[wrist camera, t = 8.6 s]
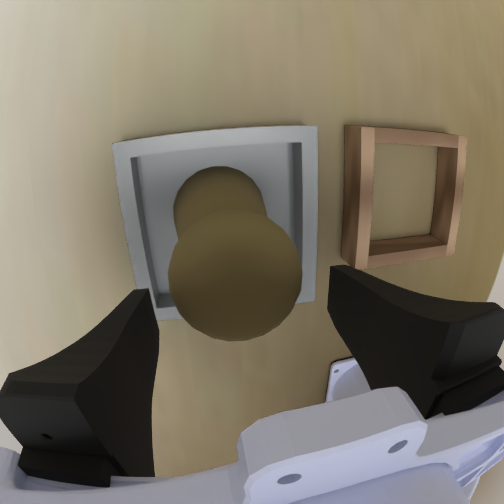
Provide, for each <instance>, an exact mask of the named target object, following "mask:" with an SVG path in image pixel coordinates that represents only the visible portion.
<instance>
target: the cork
mask: <svg viewBox="0 0 504 504" xmlns="http://www.w3.org/2000/svg"><path fill="white" fill-rule="evenodd" d="M173 212H174V223H175V227H176V232H177V236H178V242H177V244H176V245H175V246H174V249H173V253H172V256H171V260H170V264H169V268H168V282H169V292H170V294H171V297H172V299H173V302H174V304H175V306H176V308H177V310H178V312H179V314H180V315H181V316H182V317H183V318H184V319H185V320H186V321H187V322H188V323H189V324H190V325H191V326H192V327H193V328H195V329H196V330H198V331H200V332H202V333H204V334H206V335H208V336H210V337H212V338H215V339H220V340H225V341H244V340H250V339H253V338H256V337H259V336H262V335H264V334H266V333H268V332H269V331H271V330H272V329H274V328H276V327H277V326H279V325H280V323H281V322H282V321H283V320H284V319H285V318H286V317H287V316H288V315H289V314H290V312H291V311H292V309H293V307H294V305H295V303H296V301H297V299H298V296H299V294H300V292H301V284H302V276H303V273H302V267H301V262H300V258H299V254H298V249H297V248H296V246H295V245H294V243H293V242H292V240H291V239H290V237H289V236H288V234H287V233H286V232H285V230H284V229H283V228H282V227H280V226H279V225H278V224H276V223H275V222H274V221H272V220H271V219H269V218H268V216H267V212H266V208H265V205H264V201H263V197H262V194H261V191H260V189H259V188H258V186H257V185H256V183H255V182H254V180H253V179H252V178H250V177H249V176H248V175H246V174H245V173H244V172H242V171H240V170H237V169H234V168H231V167H228V166H212V167H208V168H205V169H202V170H199V171H197V172H196V173H194V174H193V175H192V176H190V177H189V178H188V179H186V180H185V182H184V183H183V185H182V186H181V187H180V189H179V190H178V192H177V195H176V198H175V201H174V205H173Z"/></svg>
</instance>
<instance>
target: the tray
mask: <svg viewBox="0 0 504 504" xmlns="http://www.w3.org/2000/svg"><path fill="white" fill-rule="evenodd" d="M112 149H113V158H114V166H115V173H116V180H117V187H118V194H119V200H120V206H121V212H122V218H123V223H124V229H125V234H126V239H127V244H128V249H129V254H130V259H131V263H132V268H133V272H134V277H135V281H136V285H137V289H145V288H149V291H150V295H151V300H152V304H153V308H154V312H155V316H156V320H157V321H160V320H170V319H180V318H183V317H182V316H181V315H180V314H179V312H178V310H177V308H176V306H175V304H174V302H173V299H172V297H171V294H170V292H169V282H168V268H169V264H170V260H171V256H172V253H173V249H174V246H175V245H176V244H177V242H178V236H177V232H176V227H175V223H174V212H173V205H174V201H175V198H176V195H177V192H178V190H179V189H180V187H181V186H182V185H183V183H184V182H185V180H186V179H188V178H189V177H190V176H192V175H193V174H194V173H196V172H197V171H199V170H202V169H205V168H208V167H212V166H228V167H231V168H234V169H237V170H240V171H242V172H244V173H245V174H246V175H248V176H249V177H250V178H252V179H253V180H254V182H255V183H256V185H257V186H258V188H259V189H260V191H261V194H262V197H263V201H264V205H265V208H266V212H267V216H268V218H269V219H271V220H272V221H274V222H275V223H276V224H278V225H279V226H280V227H282V228H283V229H284V230H285V232H286V233H287V234H288V236H289V237H290V239H291V240H292V242H293V243H294V245H295V246H296V248H297V249H298V254H299V258H300V262H301V267H302V273H303V276H302V284H301V292H300V294H299V296H298V299H297V301H296V303H295V304H298V303H304V302H311V301H315V286H316V262H317V227H318V141H317V126H312V125H275V126H252V127H235V128H222V129H210V130H200V131H190V132H181V133H173V134H165V135H157V136H150V137H144V138H137V139H131V140H125V141H120V142H116V143H113V144H112Z"/></svg>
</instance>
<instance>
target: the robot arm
mask: <svg viewBox="0 0 504 504" xmlns="http://www.w3.org/2000/svg"><path fill="white" fill-rule="evenodd" d="M327 309H328V312H329V314H330V317H331V319H332V321H333V323H334V326H335V328H336V329H337V331H338V333H339V334H340V336H341V338H342V339H343V341H344V342H345V344H346V345H347V347H348V349H349V350H350V352H351V353H352V355H353V357H354V358H350V359H346V360H342V361H337V362H334V363H333V364H332V365H331V369H330V376H329V383H328V389H327V395H326V401H325V403H322V404H317V405H313V406H309V407H304V408H299V409H294V410H289V411H284V412H280V413H277V414H274V415H271V416H268V417H264V418H261V419H259V420H257V421H256V422H255V423H253V424H252V425H251V426H249V427H248V428H247V429H245V430H244V431H243V432H241V434H240V437H239V440H238V443H237V451H238V457H239V459H238V462H235V463H232V464H229V465H225V466H221V467H218V468H214V469H210V470H206V471H202V472H198V473H194V474H189V475H185V476H180V477H155V472H154V461H153V448H152V395H153V388H154V381H155V374H156V368H157V361H158V354H159V328H158V324H157V320H156V316H155V312H154V308H153V304H152V300H151V295H150V291H149V288H145V289H136V290H133V291H132V292H131V293H130V294H129V295H128V296H127V297H126V298H125V299H124V300H123V301H122V302H121V303H120V304H119V305H118V306H117V307H116V308H115V309H114V310H113V311H112V312H111V313H110V314H109V315H108V316H107V317H105V318H104V319H103V320H102V321H101V322H100V323H99V324H98V325H97V326H96V327H95V328H93V329H92V330H91V331H90V332H88V333H87V334H86V335H85V336H83V337H82V338H80V339H79V340H78V341H76V342H75V343H73V344H72V345H70V346H68V347H67V348H65V349H63V350H62V351H60V352H59V353H57V354H55V355H53V356H51V357H49V358H47V359H45V360H43V361H41V362H39V363H36V364H34V365H32V366H29V367H26V368H23V369H21V370H18V371H15V372H12V373H9V375H8V377H7V379H6V381H5V382H4V384H3V386H2V388H1V390H0V418H1V420H2V421H3V423H4V424H5V426H6V427H7V428H8V429H9V431H10V432H11V433H12V434H13V435H14V437H15V438H16V439H17V440H18V441H19V442H20V444H21V445H22V446H23V449H22V452H21V455H20V454H19V453H17V452H16V451H13V450H10V449H7V448H3V447H0V504H471V503H470V499H471V497H472V495H473V493H474V491H475V489H476V487H477V484H478V482H479V479H480V475H482V474H483V473H484V472H485V471H487V470H488V469H490V468H491V467H492V466H493V465H495V464H496V463H497V462H498V461H500V460H501V459H502V458H503V457H504V371H503V370H502V369H501V368H500V367H499V365H501V363H502V361H501V359H500V358H499V357H498V356H497V354H498V351H499V349H500V347H501V344H502V342H503V340H504V309H503V308H502V307H500V306H499V305H498V304H496V303H493V302H464V301H454V300H447V299H442V298H437V297H432V296H427V295H423V294H420V293H416V292H413V291H410V290H407V289H404V288H401V287H398V286H396V285H393V284H390V283H388V282H386V281H383V280H381V279H378V278H376V277H374V276H372V275H369V274H367V273H365V272H363V271H360V270H358V269H355V268H353V267H350V266H347V265H337V266H330V279H329V293H328V306H327ZM336 369H337V370H336Z"/></svg>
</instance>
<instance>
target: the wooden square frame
mask: <svg viewBox="0 0 504 504" xmlns="http://www.w3.org/2000/svg"><path fill="white" fill-rule="evenodd" d="M344 128H345V177H344V212H343V234H342V251H341V257H342V258H343V259H344V260H345V261H346V262H347V263H348V264H349V265H350V266H351V267H353V268H355V269H358V270H362V269H369V268H375V267H382V266H388V265H394V264H400V263H407V262H413V261H419V260H425V259H430V258H436V257H442V256H448V255H453V254H454V248H455V243H456V237H457V231H458V225H459V218H460V211H461V204H462V195H463V186H464V175H465V162H466V143H467V137H464V136H459V135H453V134H447V133H439V132H431V131H422V130H412V129H400V128H387V127H371V126H348V125H344ZM375 143H395V144H413V145H427V146H438V164H437V179H436V191H435V201H434V210H433V218H432V226H431V233H430V234H429V235H421V236H412V237H404V238H395V239H387V240H378V241H370V231H371V218H372V203H373V183H374V144H375Z"/></svg>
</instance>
